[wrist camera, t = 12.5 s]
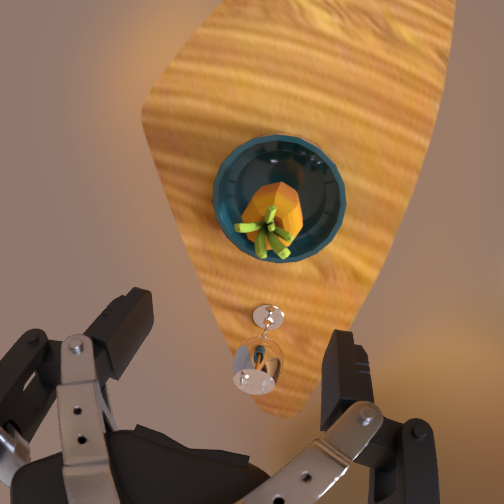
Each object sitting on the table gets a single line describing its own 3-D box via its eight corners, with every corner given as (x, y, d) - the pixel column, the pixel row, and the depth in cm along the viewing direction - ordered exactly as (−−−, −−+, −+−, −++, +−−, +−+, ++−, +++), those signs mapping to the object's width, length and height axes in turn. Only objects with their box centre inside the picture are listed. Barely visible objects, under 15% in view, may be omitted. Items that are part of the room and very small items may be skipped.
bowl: (231, 125, 31) (218, 127, 26) (350, 144, 29) (357, 149, 25) (221, 233, 37) (209, 250, 32) (327, 252, 35) (329, 272, 31)
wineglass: (294, 308, 40) (287, 374, 29) (281, 337, 42) (270, 402, 32) (254, 295, 40) (235, 358, 29) (243, 325, 42) (223, 388, 32)
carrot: (251, 185, 33) (211, 236, 20) (286, 160, 31) (271, 194, 18) (277, 220, 34) (256, 291, 21) (312, 196, 32) (316, 256, 19)
